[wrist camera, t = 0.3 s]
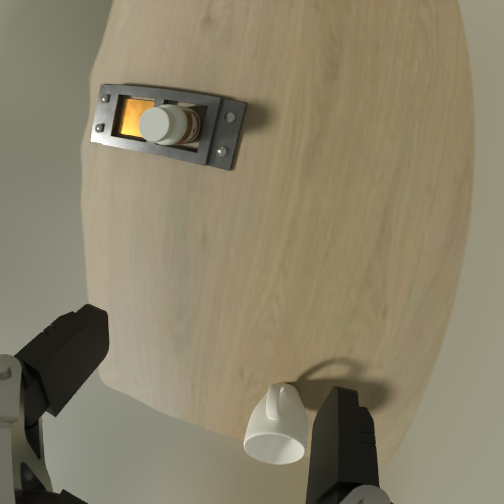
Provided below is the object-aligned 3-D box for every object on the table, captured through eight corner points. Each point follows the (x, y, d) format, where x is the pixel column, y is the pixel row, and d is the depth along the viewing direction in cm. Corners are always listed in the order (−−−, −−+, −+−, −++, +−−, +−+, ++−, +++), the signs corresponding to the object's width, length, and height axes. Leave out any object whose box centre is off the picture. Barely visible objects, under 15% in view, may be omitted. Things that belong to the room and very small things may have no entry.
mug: (310, 409, 45) (306, 465, 35) (260, 408, 47) (247, 463, 37) (309, 353, 41) (305, 415, 31) (251, 354, 43) (233, 412, 33)
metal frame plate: (102, 84, 33) (97, 83, 32) (246, 103, 32) (244, 102, 31) (92, 141, 36) (87, 141, 35) (230, 170, 35) (227, 171, 34)
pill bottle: (197, 147, 34) (168, 150, 27) (164, 139, 35) (130, 142, 28) (206, 111, 33) (179, 105, 26) (172, 105, 33) (139, 99, 26)
